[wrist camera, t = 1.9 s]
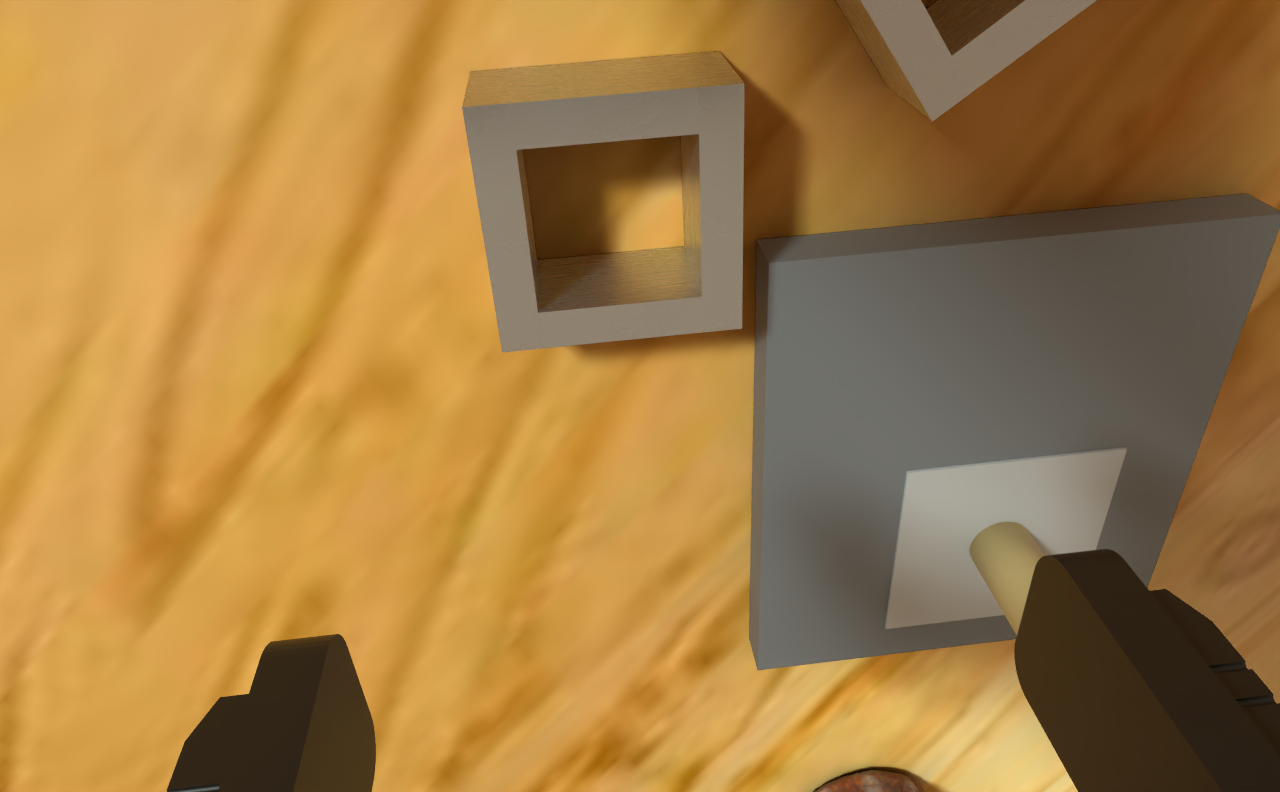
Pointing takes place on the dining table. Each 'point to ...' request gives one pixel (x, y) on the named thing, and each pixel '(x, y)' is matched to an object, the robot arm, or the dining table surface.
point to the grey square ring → (626, 281)
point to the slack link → (950, 42)
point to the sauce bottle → (872, 783)
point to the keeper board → (979, 411)
